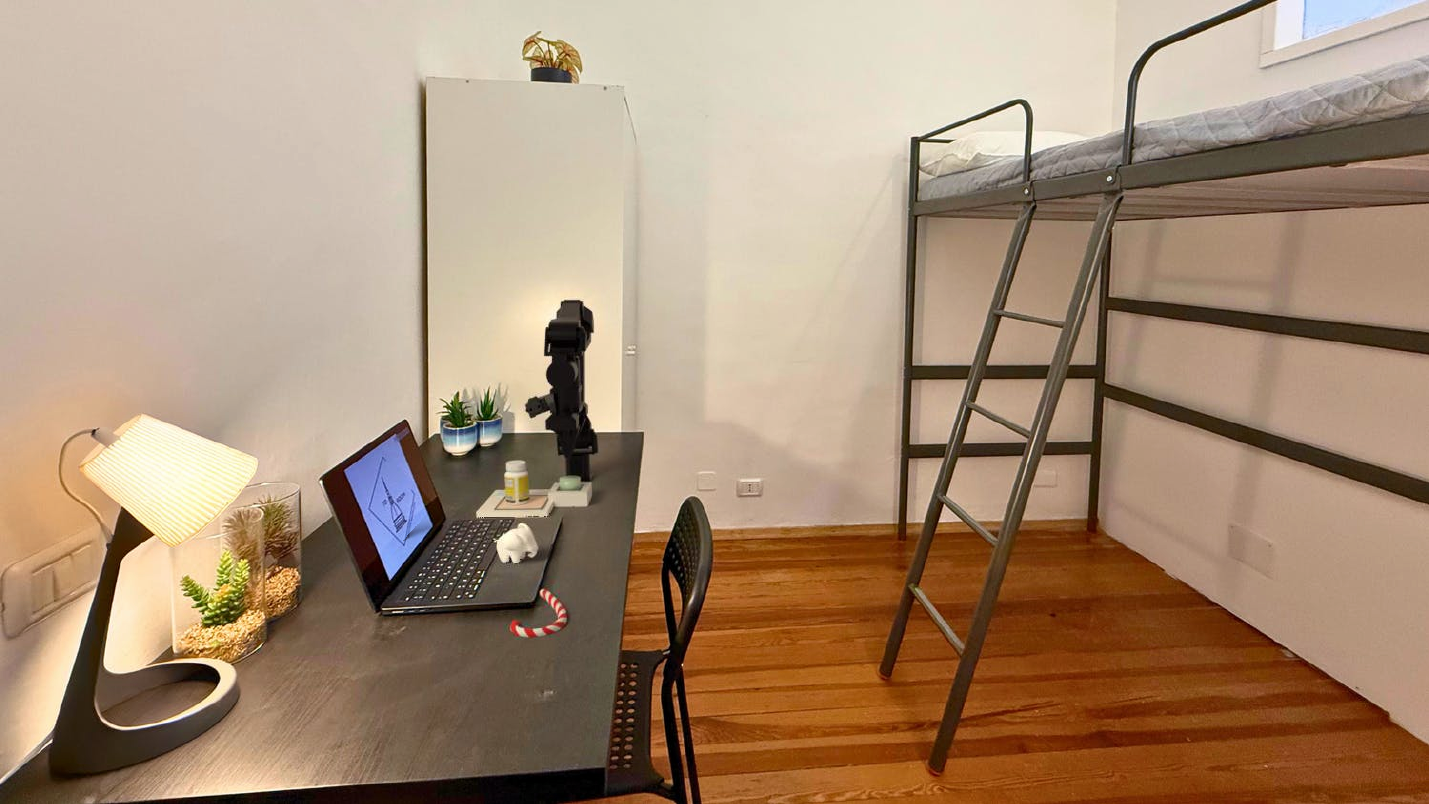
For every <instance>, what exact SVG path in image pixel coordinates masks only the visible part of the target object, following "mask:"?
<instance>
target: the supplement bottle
mask: <svg viewBox="0 0 1429 804" xmlns="http://www.w3.org/2000/svg"><path fill="white" fill-rule="evenodd" d="M526 469H527V462H526V461H524V460H509V461H507V462H505V470H506V472H504V475H503V477H504V490H505V495H506V503H507V504H509V505H522V504H526V503H528V502H529V490H530V485H529V472H528V471H527V470H526Z"/></svg>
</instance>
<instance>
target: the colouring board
mask: <svg viewBox="0 0 1429 804" xmlns="http://www.w3.org/2000/svg"><path fill="white" fill-rule="evenodd" d="M550 489H551V488H549V489H545V488H544V489H529V502H528V503H526V504H522V505H509V504H507V503H506V495H505V489H495V490H494V491H493V493H492V494H491V495H490V496H489V497H488V498H487V499H486V500H485V502H484V503H483V504H482V505H481V506H480V507H479V509H478V510H476V519H485V518H484V517H515V518H529V517H528V516H532V517H531V518H534V517H533V516H539V517H538V518H548V517H549V515H550V514H551V512H552V510H553V509H554V507H553V501H548V492H549V491H550ZM549 513H550V514H549ZM526 516H527V517H526ZM544 516H546V517H544ZM547 516H548V517H547ZM478 517H479V518H478ZM480 517H481V518H480ZM482 517H483V518H482Z"/></svg>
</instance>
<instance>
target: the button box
mask: <svg viewBox="0 0 1429 804" xmlns="http://www.w3.org/2000/svg"><path fill="white" fill-rule="evenodd" d="M592 486H593V483H592V481H590V482H581V490H579V491H560V482H554V483H553V484H552V486H551V487H550V488H549V489H550V491H549V492H548V501H553V508H557V507H559V508H560V507H561V508H564V507H565V508H566V507H571V508H572V507H573V506H574V507H588V506H589V503H590V502H591V499H592V496H593V487H592Z"/></svg>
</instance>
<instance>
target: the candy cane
mask: <svg viewBox="0 0 1429 804" xmlns="http://www.w3.org/2000/svg"><path fill="white" fill-rule="evenodd" d="M539 596H540V597H541V598H543V600H545V602H546V603H548V604H549V605H550V606H551V608H552V609H553V611H555V613H556V615H557V620H556V621H555V622H553V623H551V624H550V625H547V626H543V627H540V628H539V627H538V628H525V627H521V626H520V625H521V624H520V621H519V619H514V620H513V621H512V622H511V623H510V626H509V627H510V628H509V629H510V631H511V633H512V634H514V635H516V636H519V637H523V638H538V637H543V636H547V635H551V634H553V633H556V632H558V631H559V630H561V629H562V628H564V626H565V625H566V624H567V621H568V614H567V611H566V608H565V607H564V606H563V604H562V603H561V602H560V600H558V598H557V597H556V596H554V594H552V593H551V592H550V591H549V590H547V589H546V588H542V589H541V590H540V591H539Z"/></svg>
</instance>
